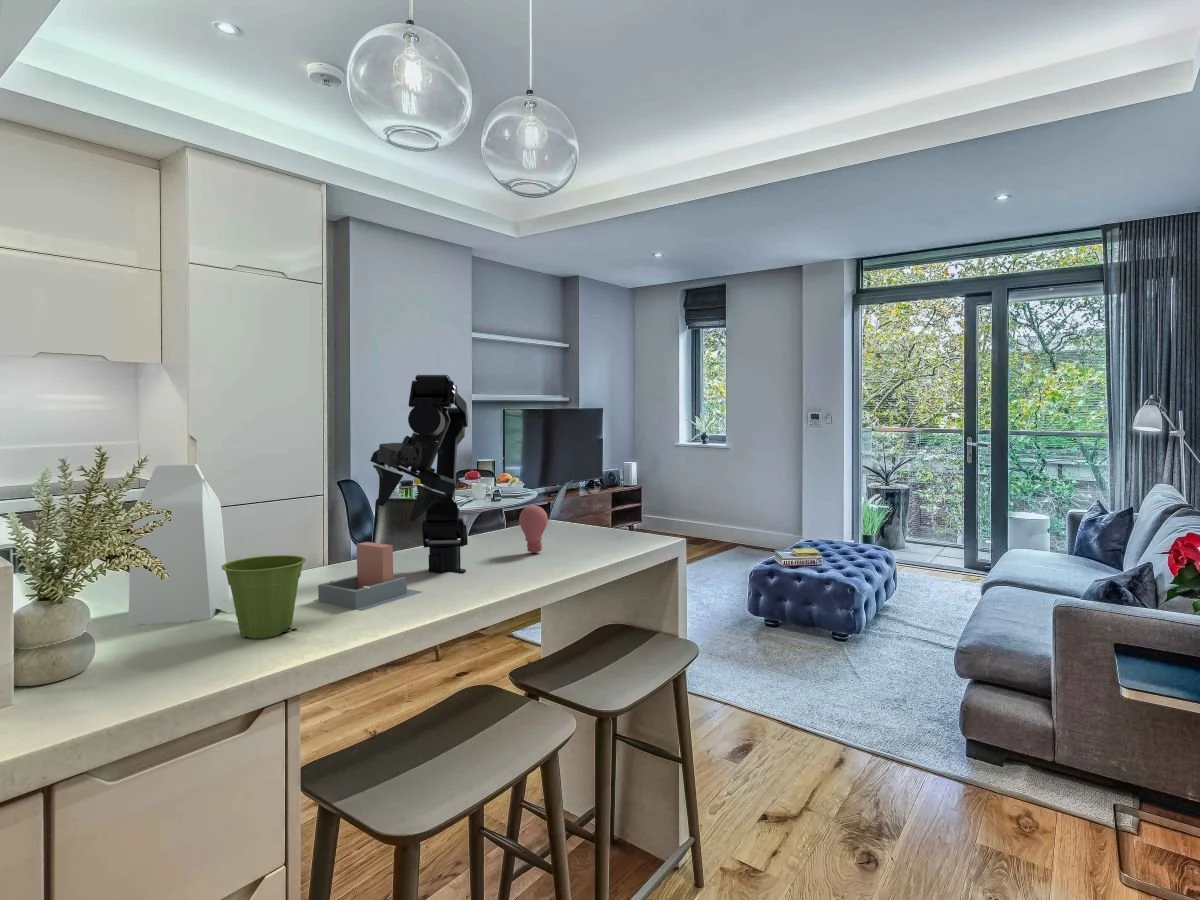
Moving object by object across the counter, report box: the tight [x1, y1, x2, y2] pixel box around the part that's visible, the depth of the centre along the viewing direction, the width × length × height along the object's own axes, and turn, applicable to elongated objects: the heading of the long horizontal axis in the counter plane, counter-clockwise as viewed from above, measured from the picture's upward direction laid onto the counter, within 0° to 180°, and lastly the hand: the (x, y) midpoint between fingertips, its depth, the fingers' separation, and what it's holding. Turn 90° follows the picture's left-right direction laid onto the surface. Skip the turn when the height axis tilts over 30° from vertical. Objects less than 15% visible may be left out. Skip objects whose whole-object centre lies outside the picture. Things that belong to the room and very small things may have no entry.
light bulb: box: [518, 505, 549, 554], centre depth 163 cm, size 7×7×12 cm
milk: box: [128, 463, 230, 626], centre depth 113 cm, size 12×12×26 cm
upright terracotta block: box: [356, 541, 394, 589], centre depth 122 cm, size 3×7×9 cm, turn 60°
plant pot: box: [221, 554, 307, 640], centre depth 103 cm, size 12×12×11 cm
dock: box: [313, 574, 423, 612], centre depth 120 cm, size 14×13×4 cm
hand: (395, 513), depth 125 cm, fingers open, 9 cm apart
